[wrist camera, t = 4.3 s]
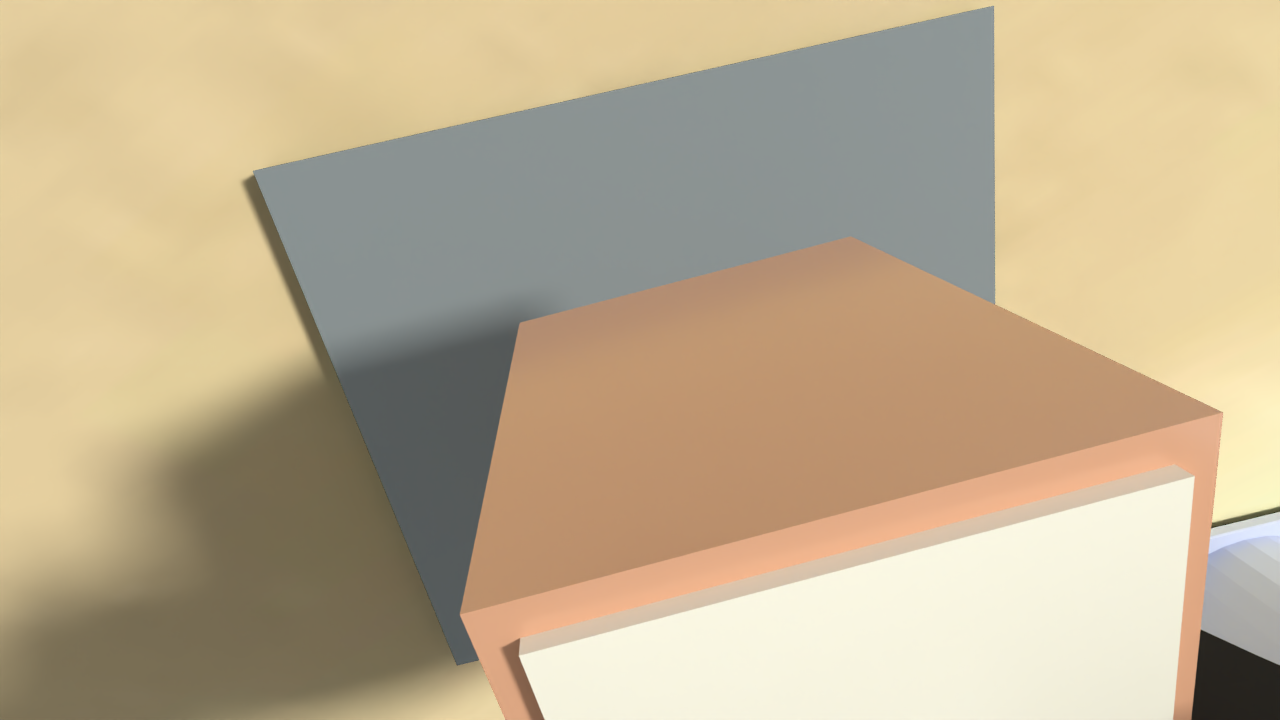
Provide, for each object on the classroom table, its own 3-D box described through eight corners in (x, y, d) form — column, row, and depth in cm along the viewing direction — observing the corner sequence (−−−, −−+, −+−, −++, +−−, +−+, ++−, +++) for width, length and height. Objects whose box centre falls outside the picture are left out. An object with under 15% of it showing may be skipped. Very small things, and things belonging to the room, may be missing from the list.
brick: (903, 680, 13) (1161, 1122, 7) (656, 746, 13) (727, 1243, 7) (850, 236, 10) (1245, 423, 4) (519, 322, 10) (455, 631, 4)
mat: (977, 9, 15) (994, 5, 14) (984, 524, 20) (995, 536, 20) (264, 168, 15) (252, 171, 14) (460, 649, 20) (457, 665, 19)
